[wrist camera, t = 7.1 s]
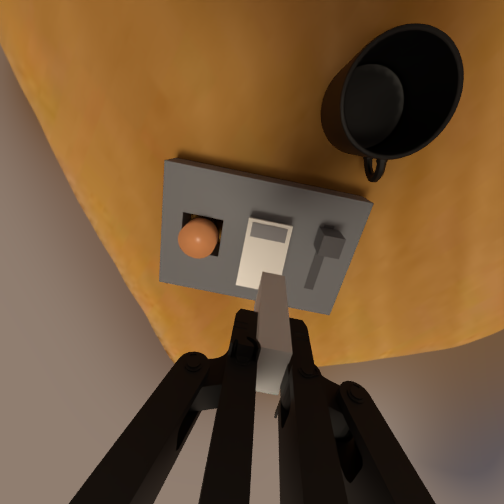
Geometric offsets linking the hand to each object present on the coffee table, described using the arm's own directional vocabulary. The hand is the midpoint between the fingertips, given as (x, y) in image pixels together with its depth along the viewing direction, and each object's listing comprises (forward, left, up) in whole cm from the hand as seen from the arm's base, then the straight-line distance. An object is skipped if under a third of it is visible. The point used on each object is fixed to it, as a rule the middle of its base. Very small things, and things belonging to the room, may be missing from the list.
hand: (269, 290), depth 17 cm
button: (+3, -8, -18) cm, 20 cm away
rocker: (+3, 0, -13) cm, 13 cm away
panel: (+3, -1, -19) cm, 19 cm away
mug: (-13, +8, -19) cm, 24 cm away
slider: (0, +7, -15) cm, 16 cm away
